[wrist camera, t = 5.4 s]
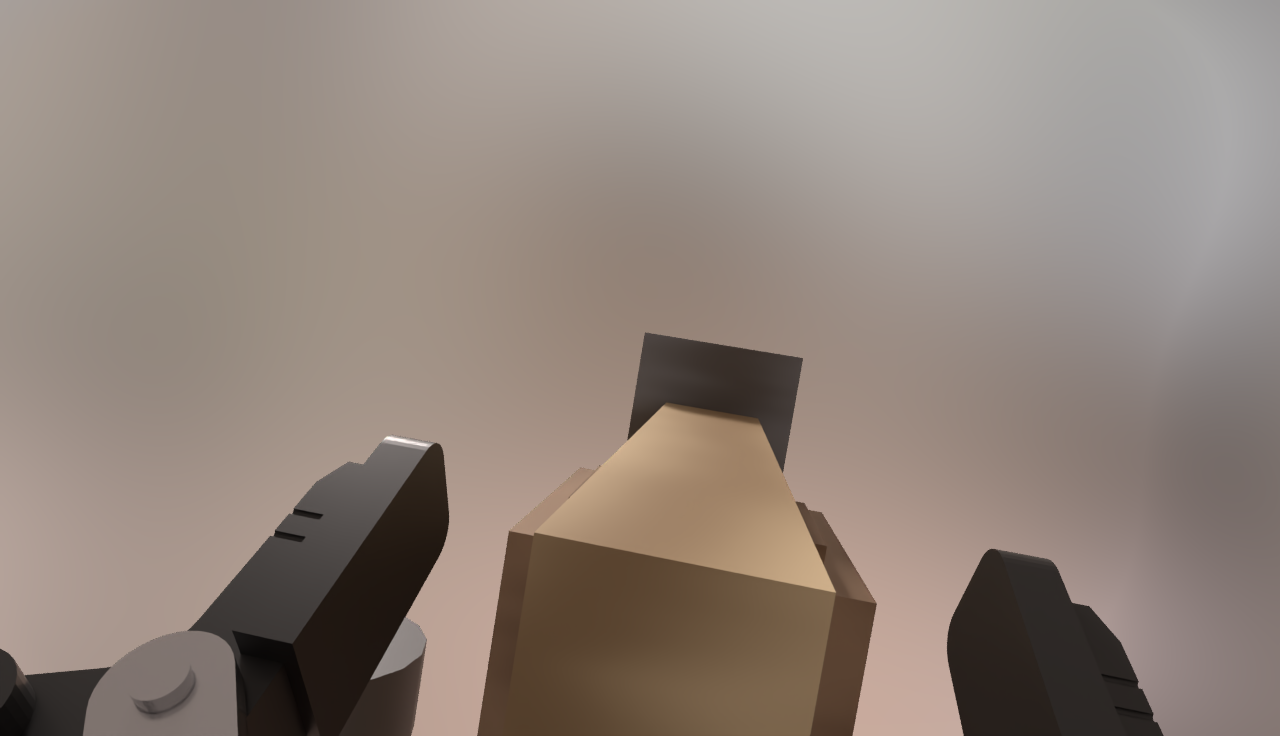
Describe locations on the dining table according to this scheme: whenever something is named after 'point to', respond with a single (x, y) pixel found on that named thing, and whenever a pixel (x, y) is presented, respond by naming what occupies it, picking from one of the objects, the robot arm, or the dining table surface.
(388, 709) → the candle holder
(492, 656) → the stand
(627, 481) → the mallet
